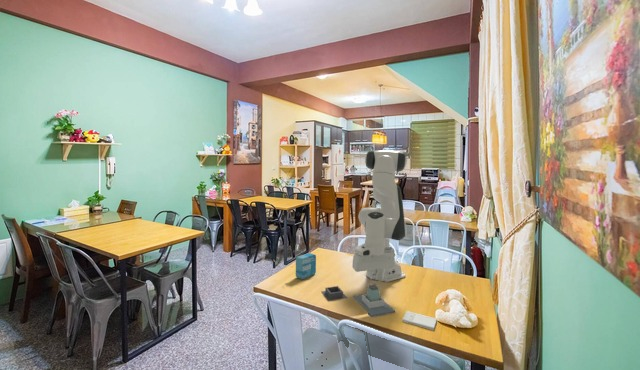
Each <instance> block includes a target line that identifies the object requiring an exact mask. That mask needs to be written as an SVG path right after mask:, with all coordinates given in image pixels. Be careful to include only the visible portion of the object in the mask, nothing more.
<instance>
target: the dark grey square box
mask: <svg viewBox="0 0 640 370" xmlns="http://www.w3.org/2000/svg"><path fill="white" fill-rule="evenodd" d="M321 294H322V295H323V296H324V297H325V299H326V300H327V301H328V302H331V301H337V300H338V301H339V300H343V299H348V296H347V295H346V294H345V293H344V291H343V290H342V289H341V288H340V286H338V285H336V286H335V285H334V286H328V287H325V289H324V290H323V291H321Z"/></svg>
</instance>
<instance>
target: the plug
mask: <svg viewBox="0 0 640 370" xmlns="http://www.w3.org/2000/svg"><path fill="white" fill-rule="evenodd" d="M366 290H367V291H366V292H367V293H366V294H367V299H368V300H369V301H370V302H372V301H378V300H379V296H380V292H381V291H380V289H379V287H378V286H377V285H376V284H369V285H368V286H367V289H366Z"/></svg>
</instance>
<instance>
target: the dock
mask: <svg viewBox="0 0 640 370" xmlns="http://www.w3.org/2000/svg"><path fill="white" fill-rule="evenodd" d="M352 297H353V298H354V299H355V300H356V301H357V303H358V304H359V305H361V306H362V308H363V309H365V311H366V312H367V316H369V317H370V318H374V317H375V318H376V317H381V316H386V315H391V314H395V313H396V310H395V309H394V308H393V307H392V306H390V305H389V304H388V303H387V302H386V300H385V299H384V298H383V297H381V296H380V295H379V300H378V301H372V302H370V301H369V300H368V299H367V293H364V294H363V293H362V294H357V295H352Z"/></svg>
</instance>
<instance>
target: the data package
mask: <svg viewBox="0 0 640 370" xmlns="http://www.w3.org/2000/svg"><path fill="white" fill-rule="evenodd" d="M316 271H317V255H316V254H314V253H312V252H308V253H305V254H301V255H299V256H296V258H295V277H296V278H297V279H300V280H304V279H307V278H311V277H312V276H315V274H316Z"/></svg>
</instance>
